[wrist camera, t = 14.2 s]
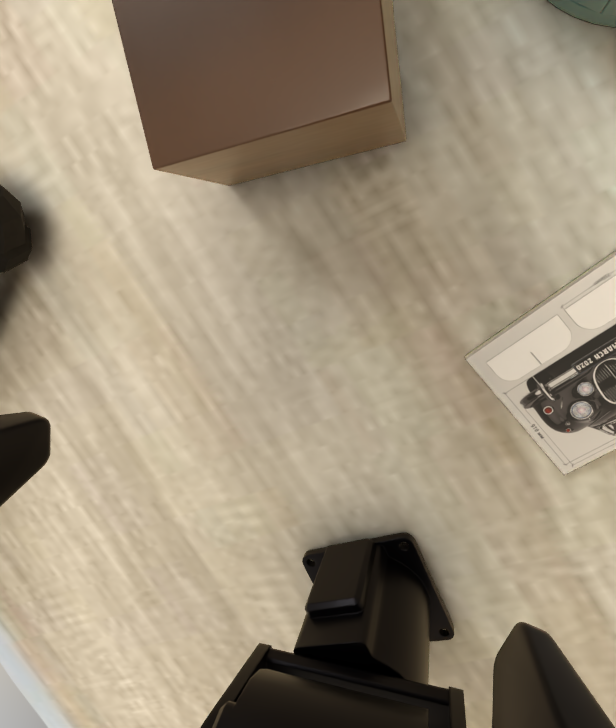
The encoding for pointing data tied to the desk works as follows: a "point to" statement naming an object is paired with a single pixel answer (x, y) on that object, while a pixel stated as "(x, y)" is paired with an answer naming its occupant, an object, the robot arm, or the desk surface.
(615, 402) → the white gadget package
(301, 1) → the block
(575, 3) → the teal cup
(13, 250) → the microphone
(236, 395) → the desk surface
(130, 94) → the desk surface
